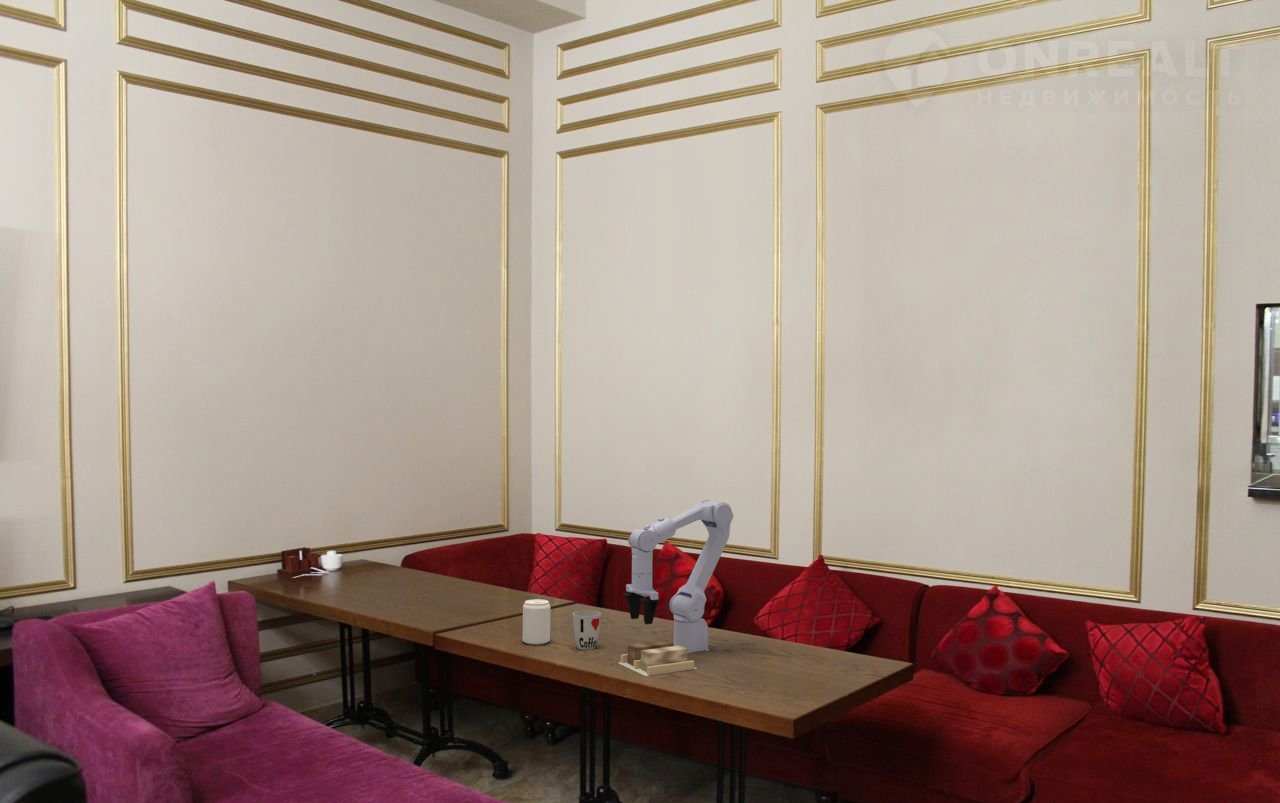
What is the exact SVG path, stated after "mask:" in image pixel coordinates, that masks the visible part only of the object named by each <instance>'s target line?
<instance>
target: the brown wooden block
mask: <svg viewBox="0 0 1280 803" xmlns="http://www.w3.org/2000/svg"><path fill="white" fill-rule="evenodd" d="M672 646H674V642H671V641H669V640H667V639H666V640H665V639H663V640H656V641H655V640H654V641H649V642H648V641H647V642H641V643H639V642H638V643H632V644H628V645H627V654H628V664H630V665H632V666H634V661H635V660H641V650H649V649H657V648H664V647H672Z"/></svg>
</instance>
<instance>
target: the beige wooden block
mask: <svg viewBox="0 0 1280 803" xmlns="http://www.w3.org/2000/svg"><path fill="white" fill-rule="evenodd" d="M688 654H689V653H688V649H687V648H685V647H682V646H674V645H673V646H672V647H664V648H657V649H649V650H641V670H643V671H645V672H647V667H649V666H656V665H663V664H671V663H678V662H685V661H688Z"/></svg>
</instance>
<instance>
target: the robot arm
mask: <svg viewBox="0 0 1280 803" xmlns="http://www.w3.org/2000/svg"><path fill="white" fill-rule="evenodd" d="M733 519H734V514H733V511H732V507H731V506H730V504H729V503H727V502H723V501H722V502H721V501H715V500H714V501H713V500H709V499H704V500H702V501H700V502H696V503H695V504H694V505H693V506H692V507H690V508H688V509H686V510H684V511H683V512H681V513H679V514H677V515H675V516H674V517H671V518H669V517H663V516H661V517H659V518H657V520H656V521H655V522H653V523H650V524H646V525H644V526H643V529H642V528H637V529H635V530H632V532H631V534H630V535H629V538H628V539H627V543H628V545H629V547H630V549H631V583H630V584H629V583H627V584H626V585H625V588H626V589H625V590H626V591H625V592H627V593H623V597H624V599H625V602H626V603H627V607H628V612H629V615H630V619H631V620H637V619H638V620H639V617H640V610H641V607H642V613H643V614H642V615H643V621H644V622H643V623H644V625H652V624H653V622H654V617H655V614H656V611H657V609H658V607H659V604H660V603H661V599H660V598H659V592H658V591H656V590H655V589H654V588H653V555H654V554H653V551H654V550H655V548H657V545H658V544H660V543H662V542H664V541H667V539H670V538H672V537H674V536H675V534H676V531H677V530H679V529H681V528H684V527H685V526H688V525H690V524H692V523H694V522H698V521H701V523H702V524H703V525H704V526H705V528H706V530H707V533H708V537H707V539H706V542H705V543H704V545H703V547H702V550H701V552H700V554H699V556H698V558H697V561H696V563H695V565H694V567H693V569H692V571H691V573H690V576H689V577H688V580H687V582H686V583H685V584H683V585H682V586H681V587H679V588H678V590H677V592H676V593H675V594H674V595H673V596H672V597H671V598H670V600H669V609H670V612H671V613H672V614H673V618H674V619H673V646H682V647H685V648H687V649H688V654H690V653H696V652H703V651H707V652H709V651H710V649H709V627H708V623H707V621H706V619H704V618H702V617H703V615H704V613H705V605H706V602H707V597H706V594H705V590H706V588H707V585H708V584H709V581H710V580H711V577H712V575H713V573H714V571H715V569H716V567H717V564H718V562H719V560H720V557H721V556H722V553H723V551H724V549H725V547H726V544H727V542H728V540H729V538H730V530H731V524H732V522H733ZM644 597H645V598H644Z"/></svg>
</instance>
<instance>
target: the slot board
mask: <svg viewBox="0 0 1280 803" xmlns="http://www.w3.org/2000/svg"><path fill="white" fill-rule="evenodd" d="M617 664H619V665H622V666H623V667H625V668H627V669H629V670H632V671H634V672H635V673H638V674H640V675H642V676H644V677H649V676H655V675H663V674H670V673H675V672H677V673H678V672H683V671H690V670H697V669H698V668H697V667H695V660H687V661H685V662H678V663H671V664H663V665H656V666H649V667H647V672H645V671H643V670H641V660H635V661H634V666H632V665H630V664H628V653H624V654H620V662H617Z"/></svg>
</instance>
